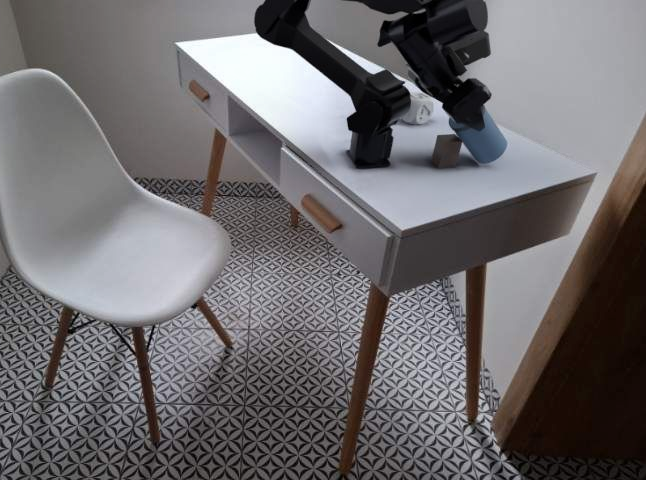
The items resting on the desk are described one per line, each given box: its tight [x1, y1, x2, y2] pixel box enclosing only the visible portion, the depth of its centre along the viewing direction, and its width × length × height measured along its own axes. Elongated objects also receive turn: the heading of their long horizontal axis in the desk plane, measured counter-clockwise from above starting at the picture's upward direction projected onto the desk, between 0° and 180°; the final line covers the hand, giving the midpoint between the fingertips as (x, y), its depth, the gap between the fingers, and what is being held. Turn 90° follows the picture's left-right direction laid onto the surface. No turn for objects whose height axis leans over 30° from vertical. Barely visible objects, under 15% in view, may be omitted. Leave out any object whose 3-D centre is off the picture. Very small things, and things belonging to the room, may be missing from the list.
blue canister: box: [448, 104, 508, 165], centre depth 90 cm, size 11×6×11 cm, turn 102°
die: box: [401, 91, 435, 126], centre depth 107 cm, size 5×5×5 cm
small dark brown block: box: [431, 133, 463, 169], centre depth 91 cm, size 3×3×5 cm
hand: (469, 117), depth 88 cm, fingers open, 9 cm apart
